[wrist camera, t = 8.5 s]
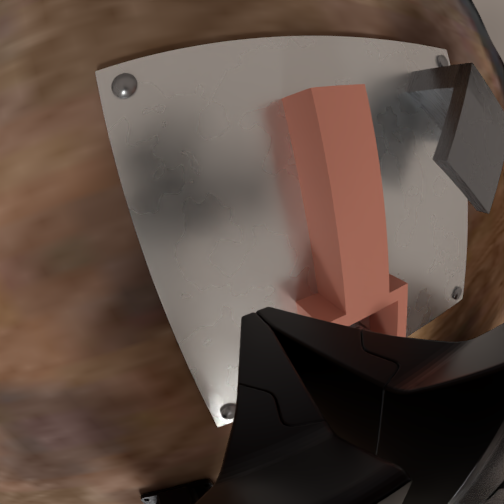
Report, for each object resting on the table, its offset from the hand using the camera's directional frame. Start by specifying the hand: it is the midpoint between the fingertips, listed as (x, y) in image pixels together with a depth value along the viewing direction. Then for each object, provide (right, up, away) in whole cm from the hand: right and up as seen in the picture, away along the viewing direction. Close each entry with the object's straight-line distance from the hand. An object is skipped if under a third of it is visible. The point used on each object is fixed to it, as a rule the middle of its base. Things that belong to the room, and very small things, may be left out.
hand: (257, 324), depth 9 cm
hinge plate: (+6, +4, +9) cm, 12 cm away
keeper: (+12, +10, +9) cm, 18 cm away
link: (+5, +2, +9) cm, 10 cm away
